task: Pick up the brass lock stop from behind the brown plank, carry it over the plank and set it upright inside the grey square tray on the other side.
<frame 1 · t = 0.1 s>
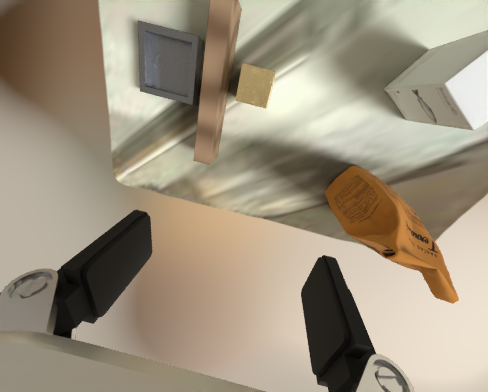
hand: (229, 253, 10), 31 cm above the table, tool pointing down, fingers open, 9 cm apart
grey square tray: (174, 68, 34), on the table
supplement box: (415, 87, 31), on the table
lock stop: (258, 90, 34), on the table
coffee package: (354, 193, 40), on the table
brown plank: (219, 92, 35), on the table
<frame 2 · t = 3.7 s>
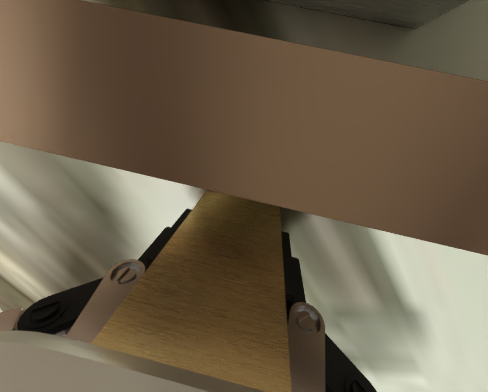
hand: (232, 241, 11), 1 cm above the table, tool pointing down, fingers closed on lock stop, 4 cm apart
lock stop: (236, 227, 12), on the table, touching gripper
brown plank: (221, 105, 9), on the table
when the fingers open (4 cm above the table, at t = 9.7 s): lock stop drops 2 cm, resting on grey square tray.
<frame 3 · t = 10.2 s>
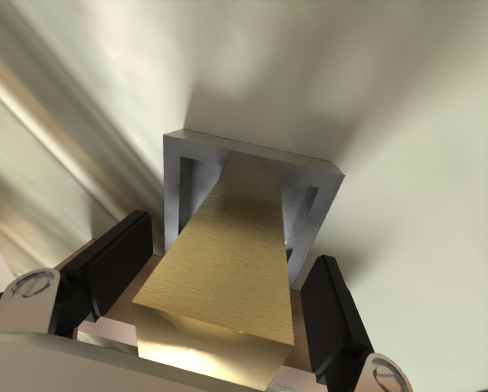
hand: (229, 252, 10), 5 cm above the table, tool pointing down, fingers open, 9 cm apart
grey square tray: (242, 208, 14), on the table
lock stop: (243, 214, 14), point 1 cm above the table, touching grey square tray
brown plank: (206, 279, 19), on the table
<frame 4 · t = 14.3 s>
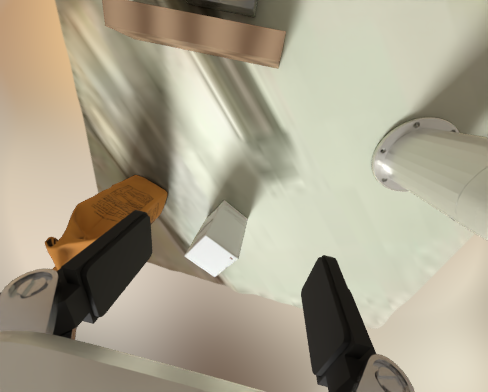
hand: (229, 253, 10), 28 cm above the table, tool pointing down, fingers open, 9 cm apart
supplement box: (226, 217, 44), on the table
coffee package: (146, 198, 45), on the table
brown plank: (206, 41, 29), on the table
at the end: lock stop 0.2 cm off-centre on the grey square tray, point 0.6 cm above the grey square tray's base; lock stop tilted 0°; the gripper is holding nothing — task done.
